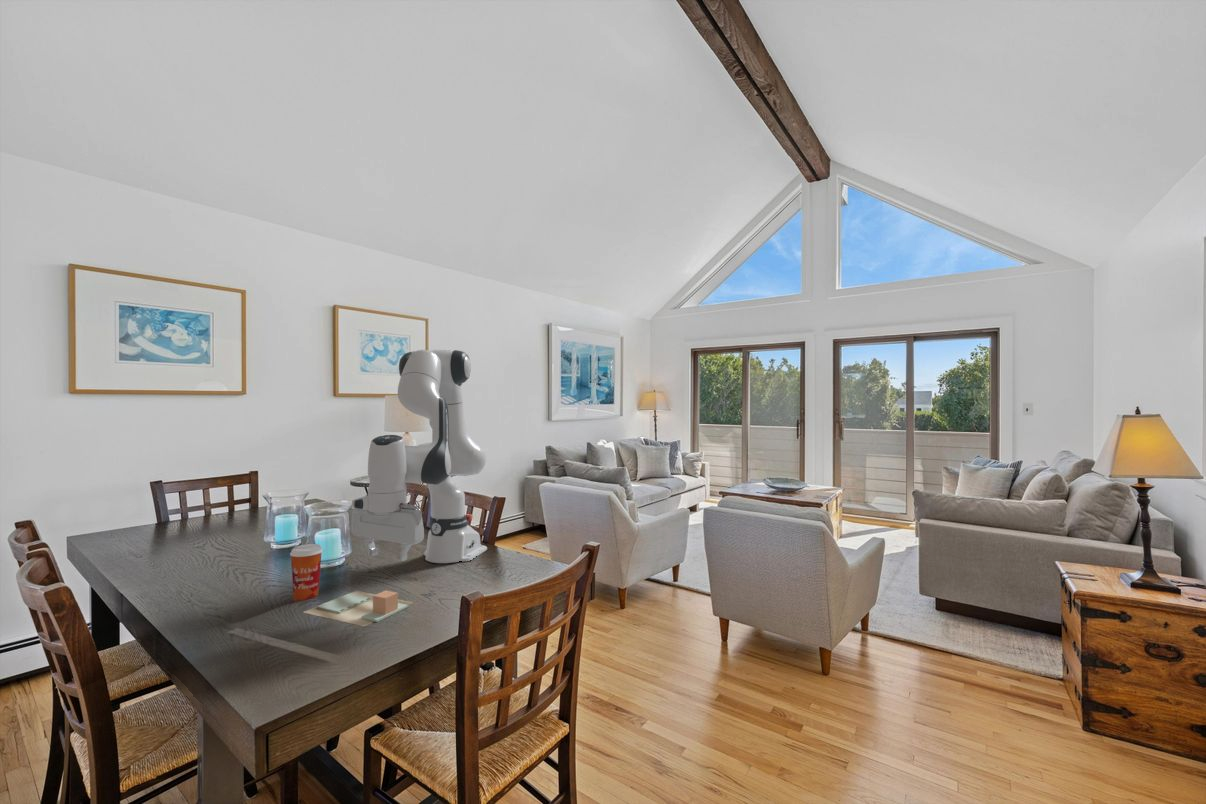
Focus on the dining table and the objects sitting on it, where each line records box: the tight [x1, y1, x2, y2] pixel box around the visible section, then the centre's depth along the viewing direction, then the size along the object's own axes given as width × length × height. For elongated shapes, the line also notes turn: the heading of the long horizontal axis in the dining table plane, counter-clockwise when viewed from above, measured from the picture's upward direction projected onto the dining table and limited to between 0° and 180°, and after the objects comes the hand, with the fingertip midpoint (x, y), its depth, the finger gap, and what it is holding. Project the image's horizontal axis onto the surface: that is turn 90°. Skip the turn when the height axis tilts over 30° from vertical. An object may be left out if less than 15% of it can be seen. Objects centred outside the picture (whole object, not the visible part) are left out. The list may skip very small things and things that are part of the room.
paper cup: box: [289, 543, 324, 602], centre depth 140 cm, size 8×8×14 cm
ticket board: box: [303, 590, 414, 627], centre depth 133 cm, size 16×20×2 cm
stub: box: [361, 589, 409, 623], centre depth 129 cm, size 10×5×4 cm, turn 157°
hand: (387, 557), depth 130 cm, fingers open, 8 cm apart
